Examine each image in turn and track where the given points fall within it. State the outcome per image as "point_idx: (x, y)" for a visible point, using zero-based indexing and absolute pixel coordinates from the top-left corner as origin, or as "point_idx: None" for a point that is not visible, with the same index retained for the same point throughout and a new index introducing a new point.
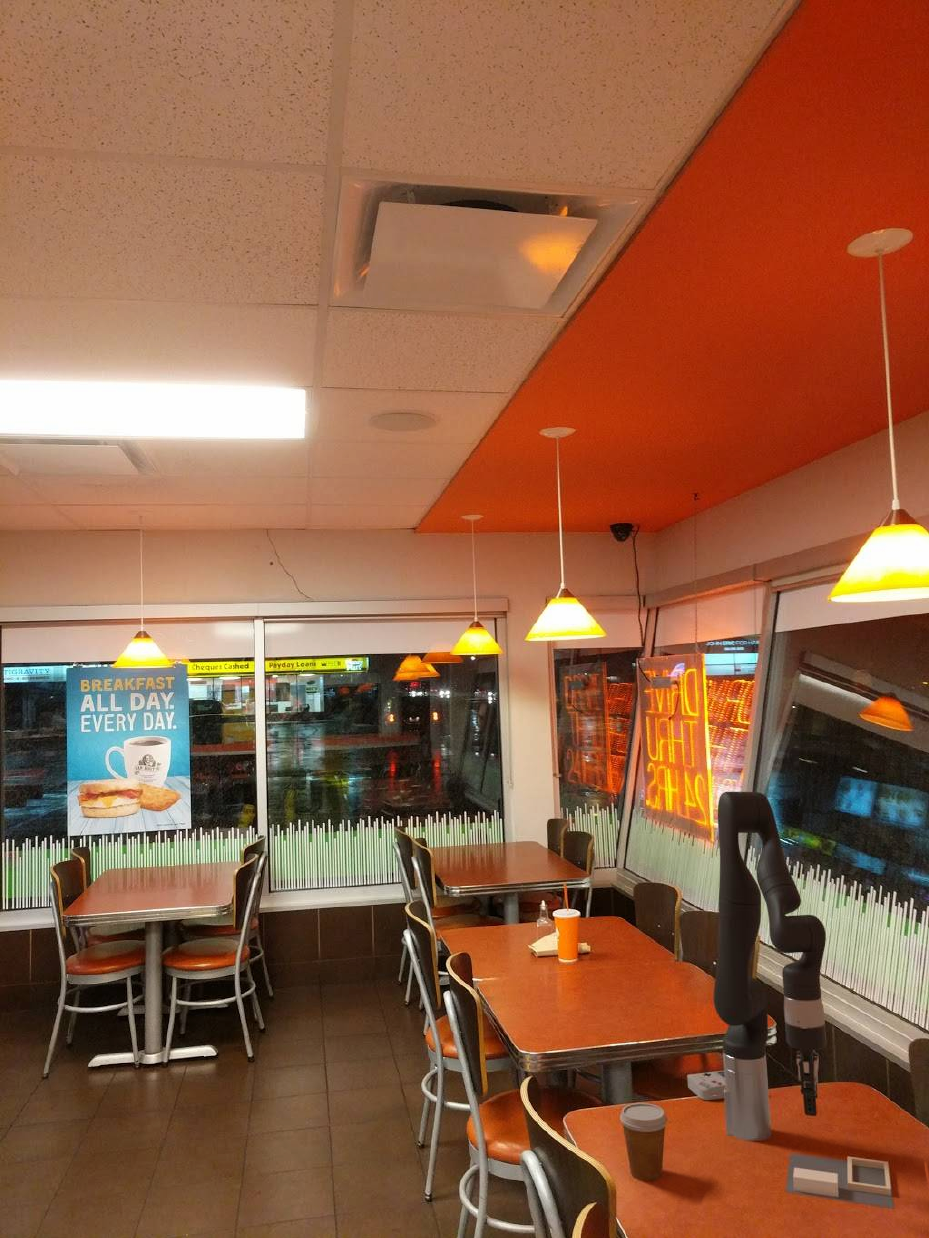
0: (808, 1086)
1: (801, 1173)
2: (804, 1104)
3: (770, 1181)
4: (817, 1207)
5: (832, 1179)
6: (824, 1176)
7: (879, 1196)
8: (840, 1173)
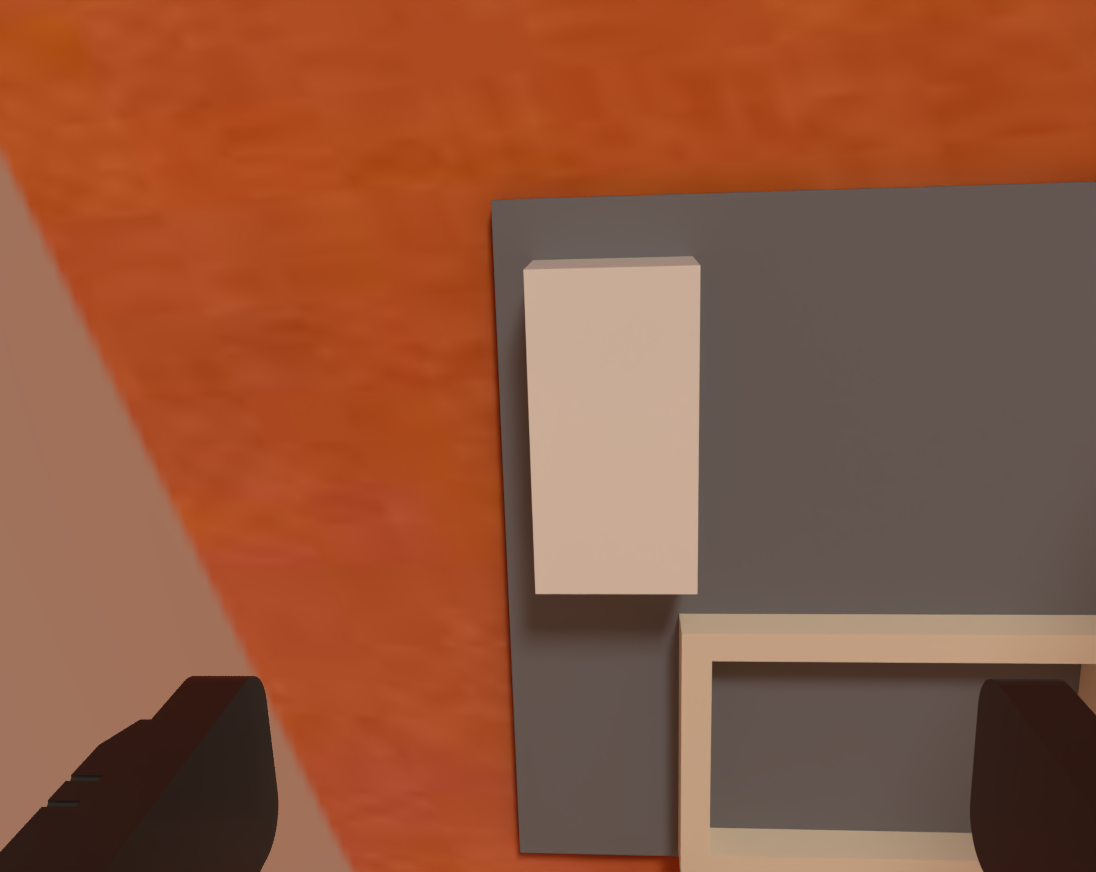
0: (1072, 847)
1: (607, 331)
2: (129, 763)
3: (676, 61)
4: (402, 420)
5: (585, 559)
6: (618, 502)
7: (645, 787)
8: (915, 566)
